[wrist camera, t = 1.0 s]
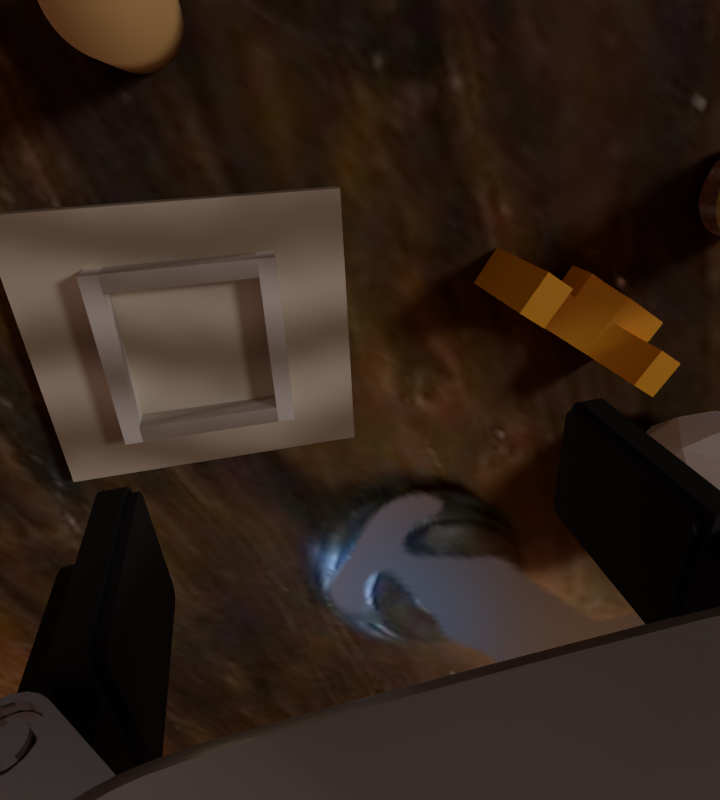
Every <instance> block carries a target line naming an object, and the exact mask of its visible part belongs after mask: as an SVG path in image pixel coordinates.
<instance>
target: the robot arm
mask: <svg viewBox="0 0 720 800" xmlns="http://www.w3.org/2000/svg"><path fill="white" fill-rule="evenodd" d="M554 505H555V510H556V513H557V515H558V517H559V518H560V520H561V521H562V522H563V523H564V524H565V526H566V527H567V528H568V529H569V531H570V532H571V533H572V534H573V535H574V537H575V538H576V539H577V540H578V542H579V543H580V544H581V545H582V547H583V548H584V549H585V550H586V551H587V553H588V554H589V555H590V556H591V558H592V559H593V560H594V561H595V563H596V564H597V565H598V566H599V567H600V569H601V570H602V571H603V572H604V574H605V575H606V576H607V577H608V578H609V580H610V581H611V582H612V583H613V585H614V586H615V587H616V588H617V590H618V591H619V592H620V593H621V594H622V596H623V597H624V598H625V599H626V601H627V602H628V603H629V604H630V606H631V607H632V608H633V609H634V610H635V612H636V613H637V614H638V615H639V616H640V618H641V619H642V620H643V621H644V623H645V625H642V626H638V627H634V628H630V629H626V630H622V631H618V632H614V633H610V634H607V635H603V636H599V637H595V638H591V639H587V640H583V641H580V642H575V643H571V644H567V645H564V646H560V647H556V648H552V649H549V650H544V651H541V652H537V653H533V654H529V655H525V656H521V657H518V658H514V659H510V660H506V661H502V662H498V663H495V664H491V665H487V666H483V667H479V668H476V669H472V670H468V671H464V672H460V673H457V674H453V675H449V676H445V677H441V678H438V679H434V680H430V681H426V682H423V683H419V684H415V685H411V686H408V687H404V688H400V689H396V690H393V691H389V692H385V693H381V694H378V695H374V696H370V697H367V698H363V699H359V700H355V701H352V702H348V703H344V704H340V705H337V706H333V707H329V708H326V709H322V710H318V711H314V712H311V713H307V714H303V715H300V716H296V717H292V718H288V719H285V720H281V721H278V722H274V723H271V724H267V725H264V726H260V727H257V728H253V729H250V730H247V731H243V732H240V733H236V734H233V735H229V736H226V737H222V738H219V739H215V740H212V741H208V742H205V743H201V744H198V745H195V746H192V747H189V748H186V749H183V750H180V751H177V752H174V753H171V754H168V755H165V756H162V752H163V740H164V728H165V716H166V705H167V693H168V681H169V669H170V657H171V645H172V634H173V622H174V610H175V592H174V587H173V583H172V580H171V577H170V574H169V571H168V568H167V565H166V563H165V560H164V557H163V554H162V551H161V548H160V545H159V542H158V539H157V536H156V533H155V530H154V527H153V524H152V521H151V518H150V515H149V512H148V509H147V506H146V504H145V501H144V498H143V495H142V493H141V492H135V493H132V491H131V489H130V488H129V487H123V488H117V489H112V490H107V491H101V492H98V493H97V495H96V497H95V501H94V504H93V507H92V511H91V514H90V517H89V520H88V524H87V527H86V530H85V533H84V537H83V540H82V543H81V546H80V550H79V553H78V556H77V559H76V563H75V564H74V565H69V566H64V567H63V568H61V569H60V570H59V572H58V574H57V576H56V579H55V582H54V585H53V588H52V591H51V594H50V597H49V600H48V603H47V606H46V609H45V612H44V615H43V618H42V621H41V624H40V627H39V630H38V633H37V636H36V639H35V642H34V644H33V647H32V650H31V653H30V656H29V659H28V662H27V665H26V668H25V671H24V674H23V677H22V680H21V683H20V686H19V689H18V692H17V693H15V694H10V695H8V696H5V697H3V698H1V699H0V800H720V490H719V489H718V488H716V487H715V486H714V485H712V484H711V483H710V482H709V481H707V480H706V479H705V478H704V477H702V476H701V475H700V474H698V473H697V472H696V471H695V470H693V469H692V468H691V467H689V466H688V465H687V464H686V463H684V462H683V461H682V460H680V459H679V458H678V457H677V456H675V455H674V454H673V453H671V452H670V451H669V450H668V449H666V448H665V447H664V446H662V445H661V444H660V443H659V442H657V441H656V440H655V439H654V438H652V437H651V436H650V435H648V434H647V433H646V432H645V431H643V430H642V429H641V428H639V427H638V426H637V425H636V424H634V423H633V422H632V421H630V420H629V419H628V418H627V417H625V416H624V415H623V414H621V413H620V412H619V411H618V410H616V409H615V408H614V407H613V406H611V405H610V404H609V403H607V402H606V401H605V400H603V399H594V400H589V401H584V402H578V403H576V404H574V406H573V407H572V410H570V411H568V413H567V414H566V419H565V427H564V434H563V441H562V449H561V456H560V464H559V471H558V479H557V486H556V493H555V501H554Z"/></svg>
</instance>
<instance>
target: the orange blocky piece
mask: <svg viewBox="0 0 720 800" xmlns="http://www.w3.org/2000/svg"><path fill="white" fill-rule="evenodd" d="M474 283H475V284H476V285H478V286H479V287H481V288H482V289H484V290H485V291H487V292H488V293H490V294H491V295H493V296H494V297H496V298H497V299H499V300H500V301H502V302H503V303H505V304H506V305H508V306H509V307H511V308H512V309H514V310H515V311H517V312H518V313H520V314H522V315H523V316H525V317H526V318H528V319H530V320H531V321H533V322H534V323H536V324H537V325H539V326H541V327H542V328H545V329H547V330H549V331H550V332H552V333H553V334H555V335H556V336H558V337H560V338H561V339H563V340H564V341H566V342H568V343H569V344H571V345H572V346H574V347H575V348H577V349H579V350H580V351H582V352H583V353H585V354H586V355H588V356H589V357H591V358H593V359H594V360H596V361H597V362H599V363H600V364H602V365H604V366H605V367H607V368H608V369H610V370H611V371H613V372H614V373H616V374H617V375H619V376H621V377H622V378H624V379H625V380H627V381H628V382H630V383H631V384H633V385H634V386H636V387H638V388H639V389H641V390H642V391H644V392H646V393H647V394H649V395H650V396H652V397H654V395H655V394H656V393H657V392H658V390H659V389H660V388H661V387H662V386H663V384H664V383H665V382H666V381H667V380H668V378H669V377H670V376H671V375H672V373H673V372H674V371H675V370H676V369H677V367H678V366H679V365H680V363H679V362H678V361H676V360H675V359H673V358H672V357H670V356H669V355H667V354H666V353H665V352H663V351H662V350H660V349H658V348H656V347H654V346H652V345H651V344H649V343H648V341H649V340H650V339H651V338H652V336H653V335H654V334H655V333H656V331H657V330H658V329H659V328H660V326H661V325H662V324H663V322H662V321H660V320H659V319H657V318H656V317H655V316H653V315H652V314H651V313H649V312H648V311H646V310H645V309H644V308H642V307H641V306H640V305H638V304H637V303H635V302H634V301H633V300H631V299H630V298H628V297H627V296H625V295H624V294H622V293H620V292H619V291H617V290H616V289H614V288H613V287H611V286H610V285H608V284H607V283H605V282H604V281H602V280H601V279H599V278H598V277H597V276H595V275H594V274H592V273H590V272H588V271H585V270H583V269H581V268H578V267H576V266H574V265H573V266H572V267H571V268H570V270H569V271H568V273H567V274H566V275H565V277H564V278H563V280H562V281H561V280H559V279H558V278H557V277H555V276H554V275H552V274H551V273H549V272H548V271H545V270H543V269H541V268H539V267H537V266H535V265H533V264H531V263H529V262H527V261H525V260H522V259H520V258H518V257H516V256H514V255H512V254H510V253H508V252H506V251H504V250H502V249H499V248H496V250H495V251H494V253H493V254H492V256H491V257H490V259H489V260H488V262H487V263H486V265H485V266H484V268H483V269H482V271H481V273H480V274H479V276H478V277H477V279H476V280H475V282H474Z"/></svg>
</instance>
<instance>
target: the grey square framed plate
mask: <svg viewBox="0 0 720 800" xmlns="http://www.w3.org/2000/svg"><path fill="white" fill-rule="evenodd" d="M0 278H1V280H2V283H3V286H4V289H5V291H6V294H7V297H8V300H9V303H10V305H11V308H12V311H13V314H14V317H15V319H16V322H17V325H18V328H19V331H20V333H21V336H22V339H23V342H24V345H25V347H26V350H27V353H28V356H29V358H30V361H31V364H32V367H33V370H34V372H35V375H36V378H37V381H38V384H39V386H40V389H41V392H42V395H43V398H44V400H45V403H46V406H47V409H48V411H49V414H50V417H51V420H52V423H53V425H54V428H55V431H56V434H57V437H58V439H59V442H60V445H61V448H62V451H63V453H64V456H65V459H66V462H67V465H68V467H69V470H70V473H71V476H72V478H73V481H74V482H77V481H83V480H90V479H96V478H102V477H108V476H114V475H121V474H127V473H133V472H139V471H146V470H152V469H158V468H164V467H170V466H177V465H183V464H189V463H195V462H202V461H208V460H214V459H220V458H226V457H233V456H239V455H245V454H251V453H258V452H264V451H270V450H276V449H282V448H289V447H295V446H301V445H307V444H314V443H320V442H326V441H332V440H339V439H345V438H351V437H354V420H353V402H352V385H351V368H350V351H349V334H348V316H347V299H346V282H345V265H344V248H343V231H342V213H341V196H340V188H339V187H337V186H332V187H319V188H306V189H293V190H280V191H267V192H254V193H241V194H228V195H215V196H202V197H189V198H176V199H163V200H150V201H137V202H124V203H111V204H98V205H85V206H72V207H59V208H46V209H33V210H20V211H7V212H0Z"/></svg>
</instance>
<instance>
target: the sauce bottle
mask: <svg viewBox="0 0 720 800" xmlns="http://www.w3.org/2000/svg"><path fill="white" fill-rule="evenodd" d="M698 208H699V216H700V218H701V222H702V224H703V225H704V227H705V228H706V229H707V230H708V231H709V232H711V233H713V234H716V235H718V236H719V237H720V158H719V159H718V160H717V161H716V163H715V164H714V165H713V166H712V168H711V170H710V171H709V173H708V175H707V177H706V178H705V180H704V182H703V184H702V188H701V191H700V196H699V200H698Z"/></svg>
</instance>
